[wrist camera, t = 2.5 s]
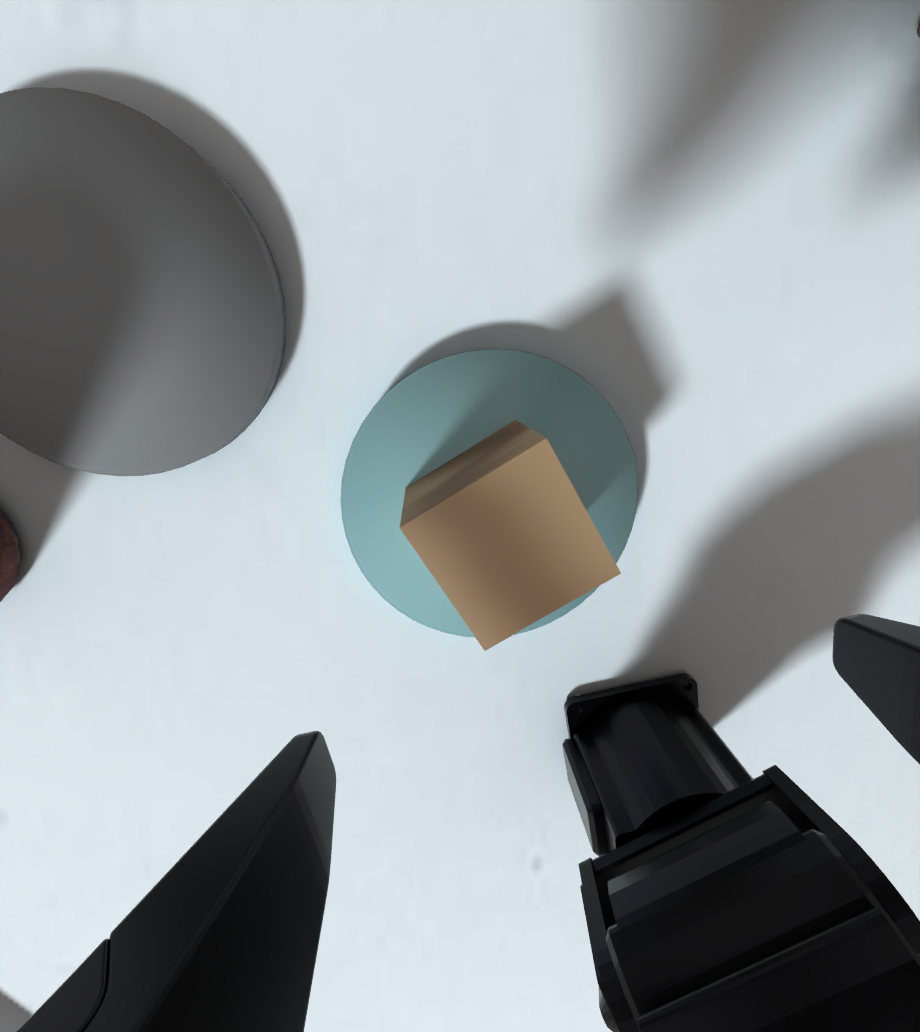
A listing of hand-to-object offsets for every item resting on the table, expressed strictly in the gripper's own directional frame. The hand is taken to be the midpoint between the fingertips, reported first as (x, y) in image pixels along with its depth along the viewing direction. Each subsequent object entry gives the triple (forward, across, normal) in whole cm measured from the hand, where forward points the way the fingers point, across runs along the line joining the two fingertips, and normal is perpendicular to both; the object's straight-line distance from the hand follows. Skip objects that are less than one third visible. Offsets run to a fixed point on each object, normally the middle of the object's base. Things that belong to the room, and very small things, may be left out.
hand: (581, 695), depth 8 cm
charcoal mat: (+13, +12, -10) cm, 20 cm away
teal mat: (+13, 0, 0) cm, 13 cm away
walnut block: (+12, 0, 0) cm, 12 cm away
